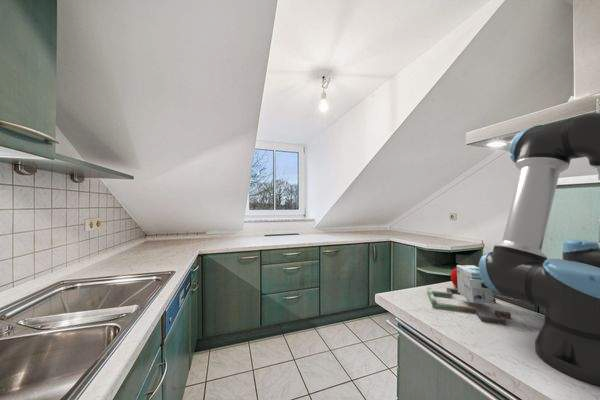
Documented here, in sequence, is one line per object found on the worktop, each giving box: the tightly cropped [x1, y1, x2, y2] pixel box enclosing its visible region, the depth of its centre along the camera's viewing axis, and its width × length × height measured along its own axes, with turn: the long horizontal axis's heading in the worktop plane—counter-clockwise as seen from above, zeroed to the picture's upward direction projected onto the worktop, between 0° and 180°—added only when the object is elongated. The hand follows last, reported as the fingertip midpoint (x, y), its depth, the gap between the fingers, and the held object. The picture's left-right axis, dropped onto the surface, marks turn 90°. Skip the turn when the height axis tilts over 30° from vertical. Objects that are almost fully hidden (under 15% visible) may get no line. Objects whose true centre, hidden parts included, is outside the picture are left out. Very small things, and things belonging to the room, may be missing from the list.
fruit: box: [450, 267, 458, 288], centre depth 104 cm, size 9×9×10 cm
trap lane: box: [426, 287, 512, 326], centre depth 87 cm, size 25×23×2 cm
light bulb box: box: [456, 264, 494, 305], centre depth 86 cm, size 11×7×11 cm, turn 171°
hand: (464, 277), depth 87 cm, fingers closed on light bulb box, 11 cm apart
